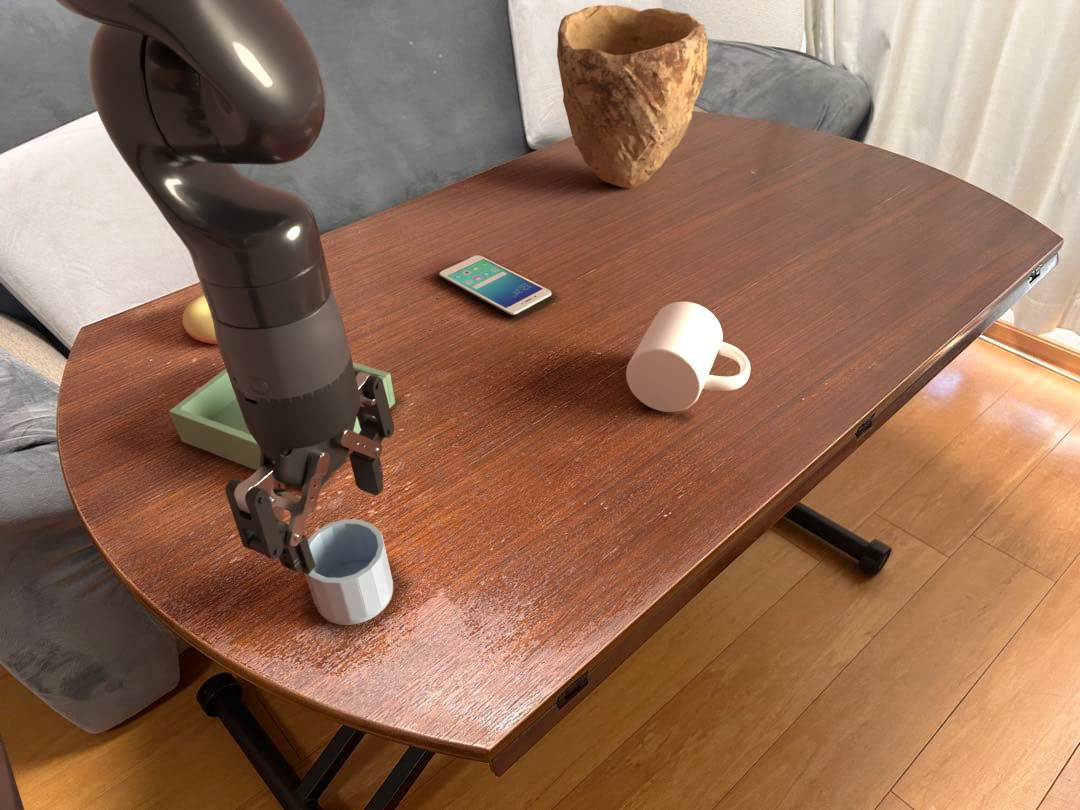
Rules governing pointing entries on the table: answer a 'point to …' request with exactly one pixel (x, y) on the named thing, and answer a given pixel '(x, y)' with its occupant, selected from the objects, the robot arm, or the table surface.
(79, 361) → the table surface
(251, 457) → the tub
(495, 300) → the smartphone
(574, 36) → the rough brown clay pot
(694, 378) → the mug
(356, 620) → the gray cup
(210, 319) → the donut
